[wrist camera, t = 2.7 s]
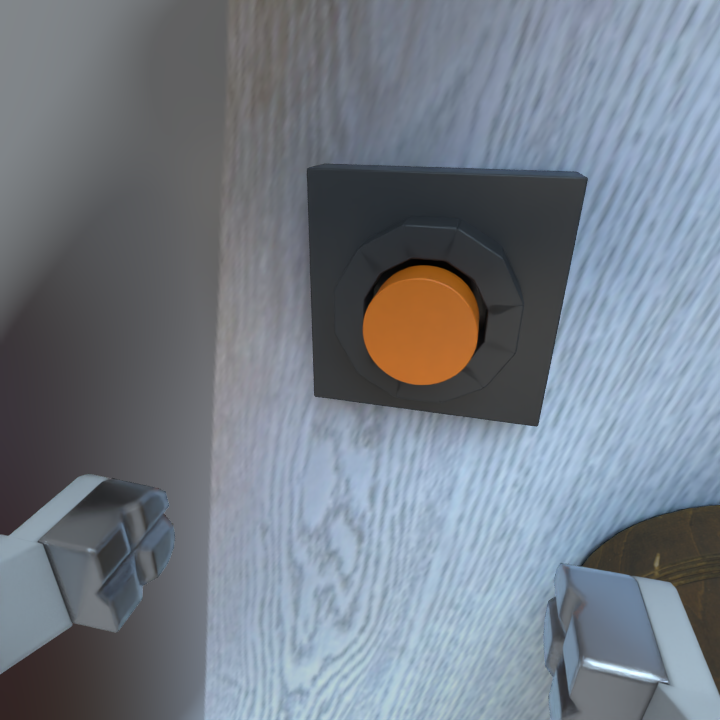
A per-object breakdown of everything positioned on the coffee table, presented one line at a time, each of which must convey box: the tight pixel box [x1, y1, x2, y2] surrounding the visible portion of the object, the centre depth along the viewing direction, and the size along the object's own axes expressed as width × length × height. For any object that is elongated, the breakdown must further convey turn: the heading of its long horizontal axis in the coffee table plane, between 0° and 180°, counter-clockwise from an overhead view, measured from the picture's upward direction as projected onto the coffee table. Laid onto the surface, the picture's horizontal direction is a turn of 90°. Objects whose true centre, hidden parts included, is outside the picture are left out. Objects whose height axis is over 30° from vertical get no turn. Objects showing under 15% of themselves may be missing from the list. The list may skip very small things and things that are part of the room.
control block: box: [307, 164, 588, 426], centre depth 20 cm, size 10×10×4 cm
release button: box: [363, 265, 479, 385], centre depth 18 cm, size 4×4×2 cm
